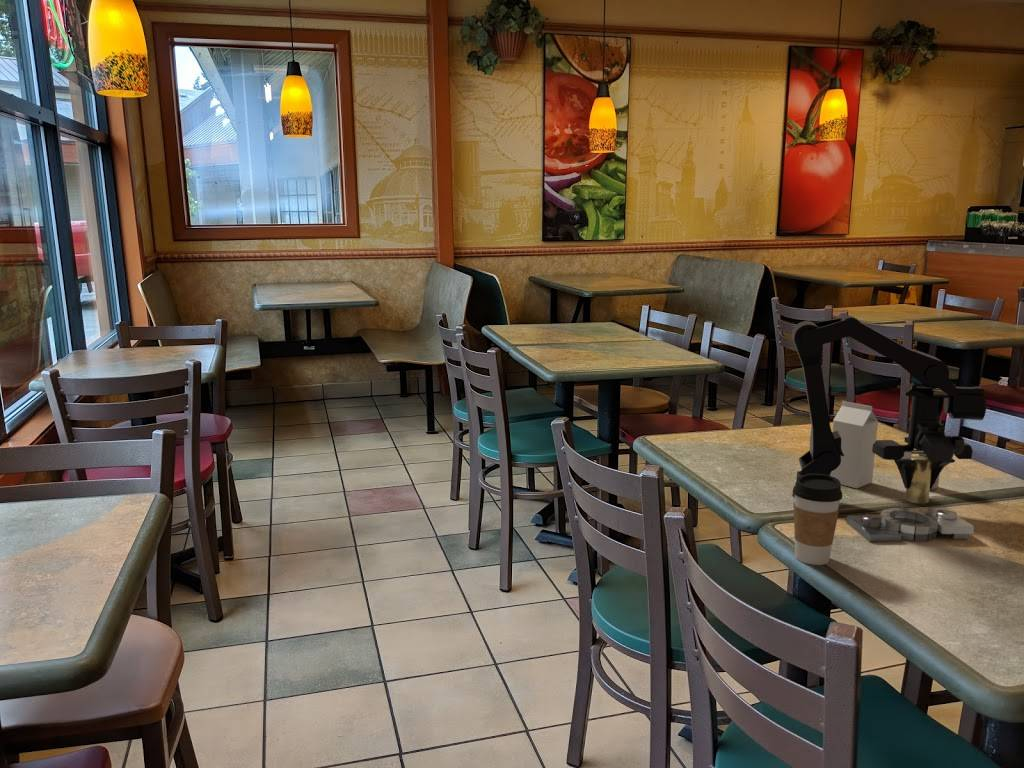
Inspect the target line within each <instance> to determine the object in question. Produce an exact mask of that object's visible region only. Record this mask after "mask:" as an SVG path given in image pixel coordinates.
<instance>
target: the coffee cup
mask: <svg viewBox="0 0 1024 768" xmlns="http://www.w3.org/2000/svg"><path fill="white" fill-rule="evenodd" d="M796 479H797V480H796ZM796 479H795V480H796V482H795V484H794V486H793V489H792V493H794V494H795V498H794V502H793V524H794V526H793V527H794V528H793V530H794V556H795V558H796V560H797V561H799V562H801V563H804V564H807V565H813V566H822V565H823V566H824V565H827V564H828V563H830V558H831V552H832V546H833V543H834V537H835V532H836V529H837V523H838V519H839V518H838V517H839V512H840V507H839V506H840V500H842V499H843V492H842V487H841V486H842V485H841V483H840V481H839V480H838V479H837V478H835V477H832V476H829V475H825V474H806V475H803V476H800V477H799V478H797V477H796Z"/></svg>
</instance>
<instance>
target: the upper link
mask: <svg viewBox="0 0 1024 768" xmlns="http://www.w3.org/2000/svg"><path fill="white" fill-rule="evenodd" d="M880 517H881V518H882V520H881V523H882V524H883V525H885V526H886V527H888V528H890V529H893V530H896V531H900V532H905V533H911V534H914V533H915V534H930V533H933V532H936V531H937V532H938V533H939V534H941V535H948V537H951V538H952V539H953V540H969V539H970V536H971V535H970V534H974V528H975V526H974V525H973V524H971V523H970V522H968V521H967V520H965V519H963V518H962V517H960V516H959V515H958V513H957V512H955V511H953V510H949V509H947V508H946V507H915V509H912V508H905V507H904V508H903V507H893V508H892V507H891V508H887V509H882V510H881V512H880ZM893 518H909V519H915V520H918V521H921V522H923V523H924V524H911V523H905V522H901V521H898V520H895V519H893ZM968 538H969V539H968Z"/></svg>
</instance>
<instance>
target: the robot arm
mask: <svg viewBox="0 0 1024 768" xmlns="http://www.w3.org/2000/svg"><path fill="white" fill-rule="evenodd" d="M791 338H792V340H793V344H794V347H795V349H796V352H797V355H798V358H799V359H800V363H801V366H802V373H803V377H804V378H803V379H804V385H805V391H806V398H807V399H806V400H807V407H808V411H809V418H810V426H811V431H810V436H809V437H810V438H809V450H808V451H806V452H805V453H804V454H803V455H801V456H799V458H798V462H799V465H800V469H801V470H799V471H796V479H795V480H797V478H799V477H800V476H803V475H806V474H825V475H829V476H831V475H830V474H831V472H832V471H833V470H835V469H836V468H837V467H838V466H839V465H840V463H841V456H844V454H843V452H842V450H841V437H840V435H839V433H838V431H835V432H833V430H832V428H831V423H830V422H831V421H830V417H829V416H830V415H829V409H828V402H827V397H826V395H827V394H826V389H825V381H824V376H823V370H822V369H823V367H822V360H823V353H824V352H823V351H824V345H826V344H830V343H833V342H836V341H838V340H842V339H845V338H851V339H853V340H855V341H857V342H859V343H861V344H862V345H864V346H866V347H867V348H869V349H871V350H873V351H874V352H876V353H878V354H880V355H881V356H884V357H885V358H887V359H889V360H891V361H892V362H894V363H896V364H898V365H899V366H900V367H902V369H904V370H905V371H907V373H908V374H910V375H911V376H913V377H914V378H915V379H916V380H917V381H919V382H920V383H921V384H922V385H923V386H922V387H921V386H917V385H915V384H914V382H911V383H909V385H907V386H906V387H904V388H902V390H901V392H902V394H904V395H905V396H906V397H912V398H911V406H910V407H911V409H910V416H909V418H908V417H907V418H906V422H905V423H906V424H908V425H909V426H908V433H907V434H908V436H904V443H906V444H900V443H898V442H897V441H894V440H893V439H876V442H875V443H874V444H873V448H872V452H873V453H874V454H875V456H878V457H879V458H881V459H882V460H887V461H894V463H895V464H896V467H897V470H898V471H899V474H900V477H901V480H902V483H903V486H904V488H905V490H906V489H909V487H910V482H911V468H912V465H913V464H914V463H915V461H914V460H912V459H911V457H912V455H918V454H926V456H927V458H928V459H929V460H931V461H933V464H932V473H931V482H930V489H931V488H932V486H933V485H934V483H935V481H936V479H937V477H938V476H939V474H940V475H941V473H942V471H943V470H944V468H945V467H946V466H949V464H954V463H955V462H956V460H955V459H954V456H955V457H956V459H957V460H973V457H974V456H973V455H974V448H973V447H972V445H971V444H968V443H967V442H965V439H964V437H962V435H953V436H951V435H949V436H947V435H946V433H945V424H943V423H941V422H942V415H943V414H942V413H943V412H944V414H948V416H949V418H950V419H951V420H968V421H970V420H971V421H983V420H984V418H985V416H986V412H987V405H986V400H985V399H986V398H985V397H986V396H985V395H984V394H985V389H984V388H983V387H982V386H970V387H969V386H956V384H955V383H953V381H952V380H951V379H950V370H949V366H948V365H947V364H946V363H945V362H943V361H942V360H940V359H939V358H937V357H936V356H933V355H931V354H929V353H925V352H923V351H919V350H917V349H912V348H909V347H906V346H905V345H903V344H901V343H899V342H897V341H896V340H894V339H891V338H890V337H888V336H886V335H885V334H884V333H881V332H880V331H878V330H876V329H874V328H872V327H870V326H869V325H867V324H865V323H863V322H861V321H860V320H859V319H857V318H856V317H855V316H852V315H845V316H843V317H839V318H833V319H828V320H821V321H817V322H813V321H809V320H806V321H805V320H804V321H800V322H798V323H797V324H796V325H795V326H794V327H793V329H792V332H791ZM924 386H925V387H924ZM934 388H938V389H939V390H940V391H939V392H938V391H934V390H933V389H934ZM941 391H942V392H941ZM840 455H841V456H840ZM939 477H940V476H939ZM791 496H792V497H793V498H794V499H795V494H794V493H793V492H792V494H791Z"/></svg>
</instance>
